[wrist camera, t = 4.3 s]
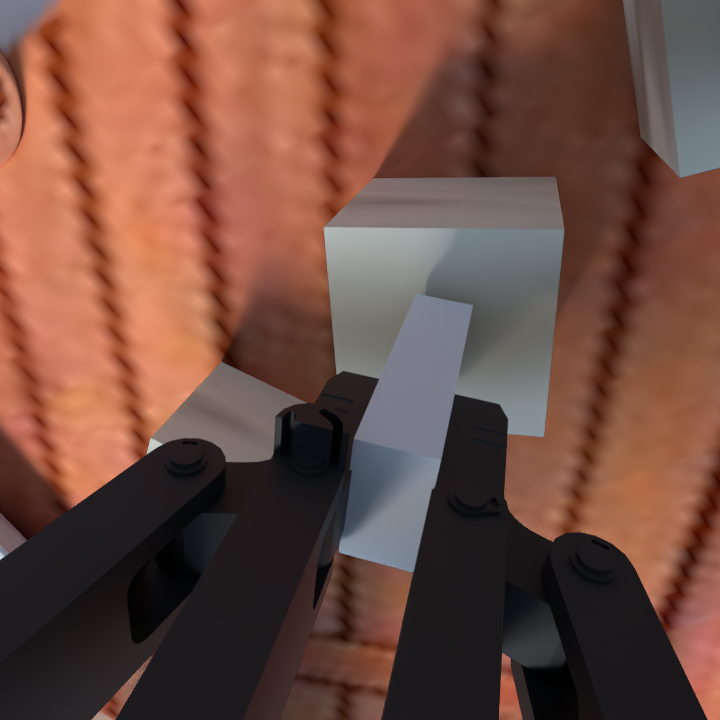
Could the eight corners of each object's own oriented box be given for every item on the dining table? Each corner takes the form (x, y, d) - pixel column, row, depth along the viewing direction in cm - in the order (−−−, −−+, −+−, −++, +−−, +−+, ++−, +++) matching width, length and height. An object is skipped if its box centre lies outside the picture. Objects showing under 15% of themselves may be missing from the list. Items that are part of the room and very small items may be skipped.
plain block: (540, 343, 23) (543, 437, 17) (381, 334, 24) (340, 419, 19) (555, 176, 20) (564, 229, 15) (373, 177, 21) (323, 227, 16)
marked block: (304, 511, 29) (256, 613, 24) (191, 456, 30) (120, 547, 24) (347, 421, 26) (303, 517, 21) (222, 360, 26) (147, 441, 21)
